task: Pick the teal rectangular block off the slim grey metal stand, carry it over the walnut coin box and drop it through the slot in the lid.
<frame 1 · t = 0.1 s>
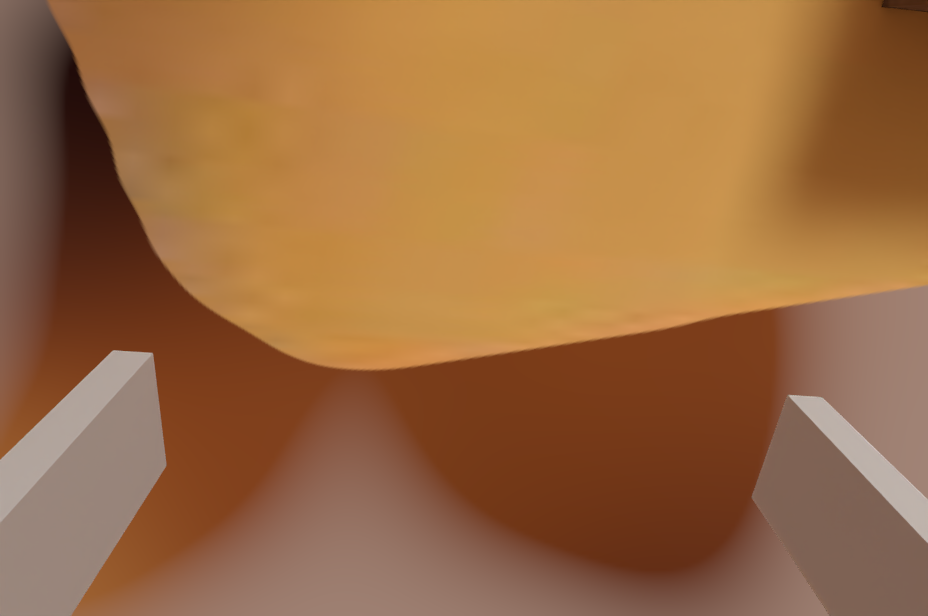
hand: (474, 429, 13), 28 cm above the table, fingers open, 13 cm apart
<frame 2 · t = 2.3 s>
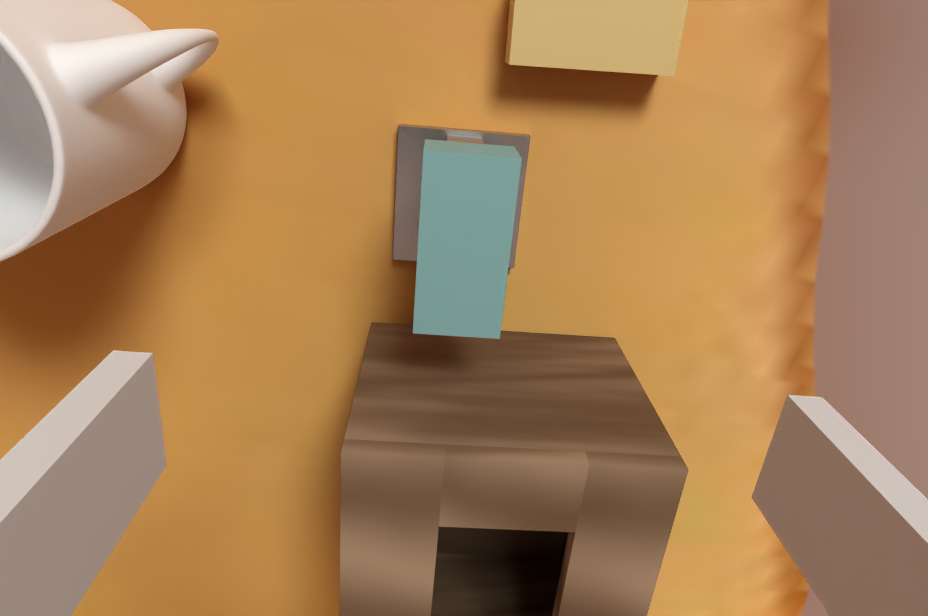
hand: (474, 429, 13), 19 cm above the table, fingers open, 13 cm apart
teal rectangular block: (462, 231, 25), point 6 cm above the table, touching stand
coin box: (480, 453, 36), on the table
stand: (458, 197, 30), on the table
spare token: (586, 26, 28), on the table
white rounded piece: (130, 81, 28), on the table
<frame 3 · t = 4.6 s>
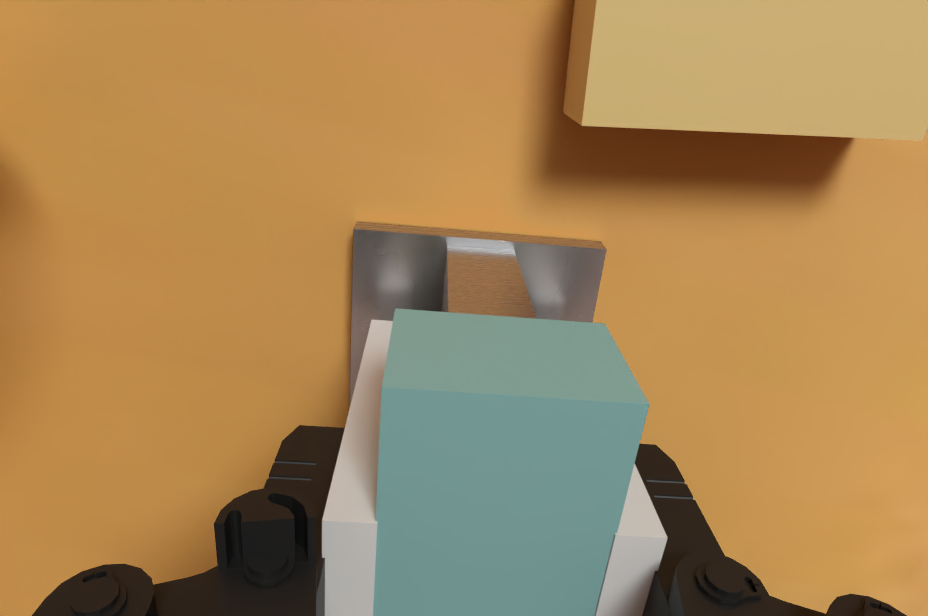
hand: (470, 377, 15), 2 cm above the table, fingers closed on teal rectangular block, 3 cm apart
teal rectangular block: (478, 489, 11), point 6 cm above the table, touching gripper, stand
stand: (467, 347, 17), on the table
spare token: (723, 39, 14), on the table
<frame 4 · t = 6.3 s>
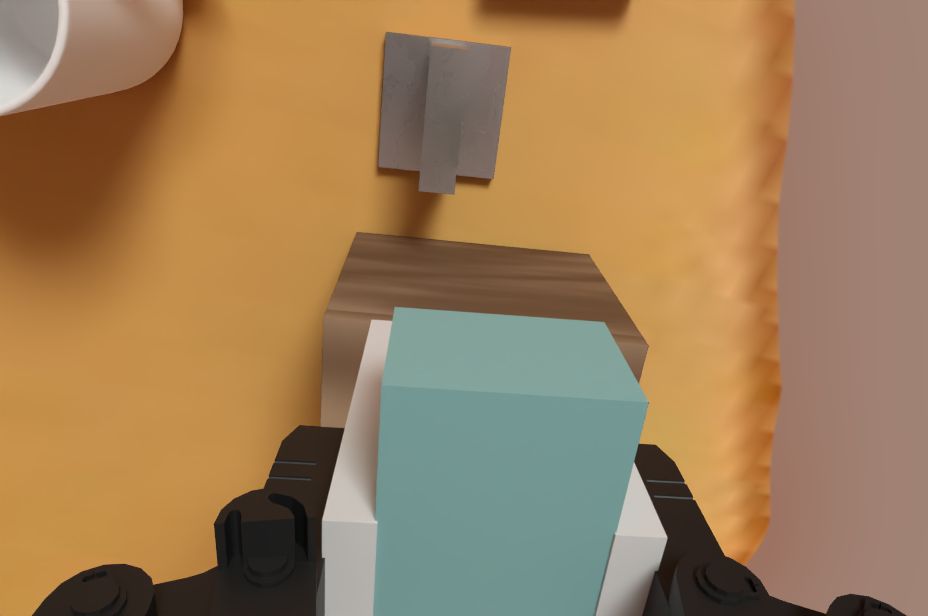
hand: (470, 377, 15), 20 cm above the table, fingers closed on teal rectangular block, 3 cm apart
teal rectangular block: (478, 487, 11), point 24 cm above the table, touching gripper
coin box: (458, 368, 38), on the table
stand: (442, 107, 32), on the table
when the fingers open (12 cm above the table, at t = 7.8 s): teal rectangular block drops 16 cm, resting on coin box.
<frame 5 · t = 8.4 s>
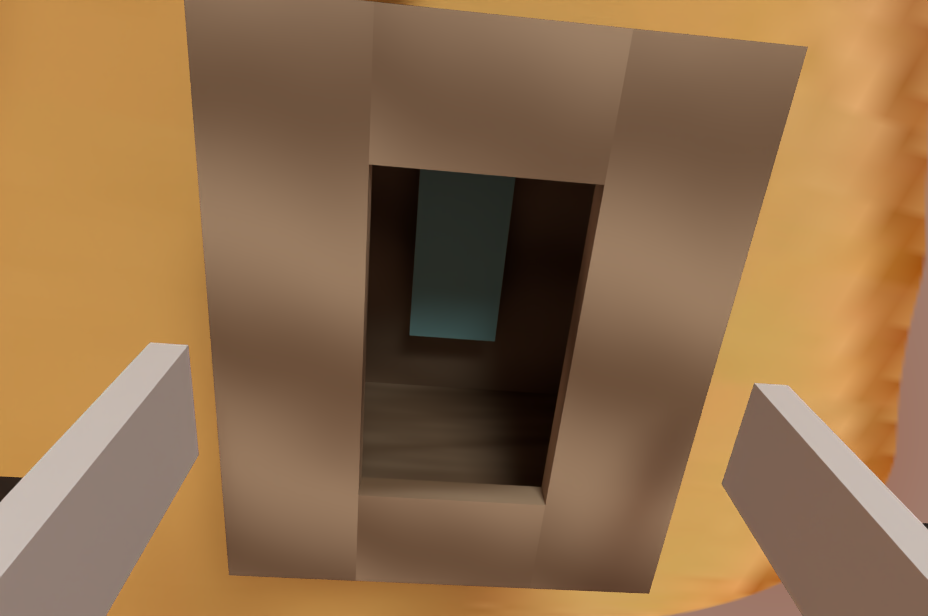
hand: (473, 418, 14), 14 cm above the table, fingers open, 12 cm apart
teal rectangular block: (458, 235, 26), point 1 cm above the table, touching coin box
coin box: (458, 231, 26), on the table
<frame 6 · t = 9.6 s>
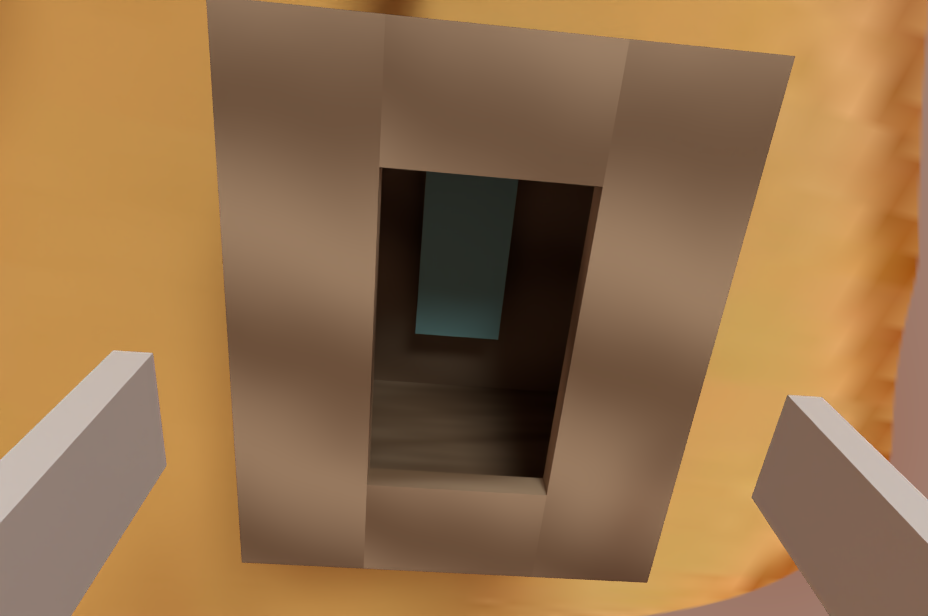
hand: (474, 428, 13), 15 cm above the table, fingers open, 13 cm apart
teal rectangular block: (463, 237, 26), point 1 cm above the table, touching coin box
coin box: (463, 232, 27), on the table
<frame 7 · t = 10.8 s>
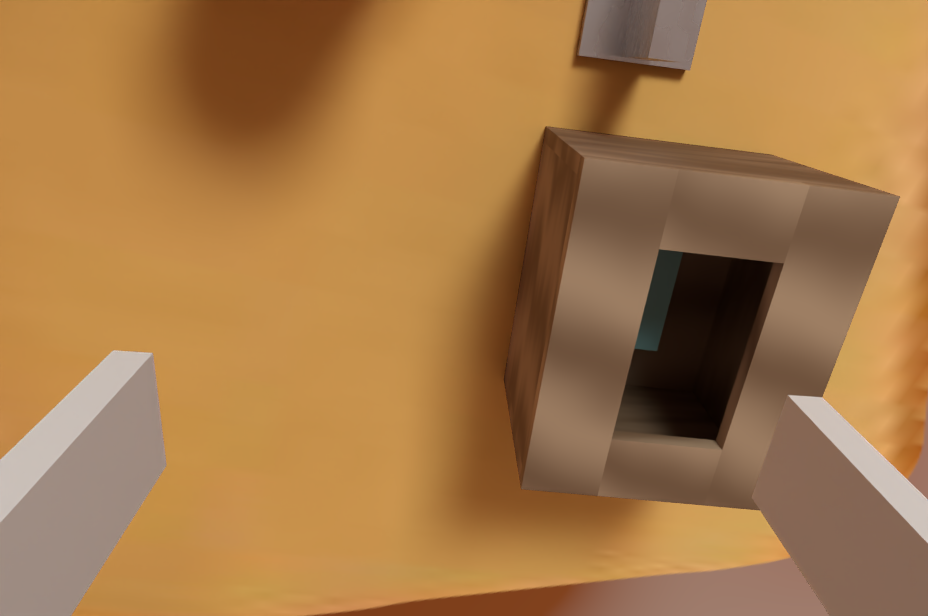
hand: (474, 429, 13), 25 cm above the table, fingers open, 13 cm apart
teal rectangular block: (631, 278, 38), point 1 cm above the table, touching coin box
coin box: (628, 274, 38), on the table
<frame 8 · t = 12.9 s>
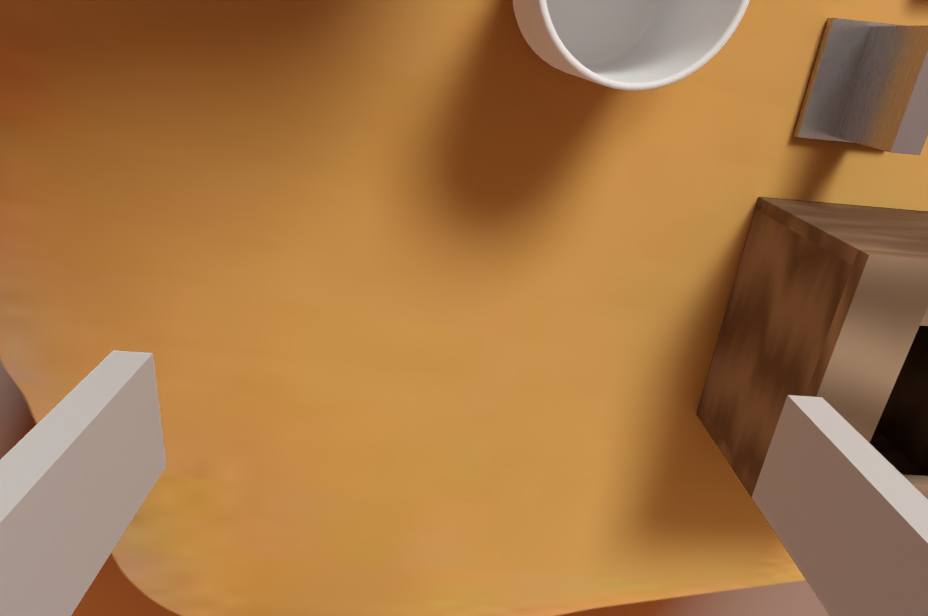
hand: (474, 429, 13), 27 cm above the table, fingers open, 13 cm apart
coin box: (818, 320, 42), on the table
stand: (859, 84, 36), on the table
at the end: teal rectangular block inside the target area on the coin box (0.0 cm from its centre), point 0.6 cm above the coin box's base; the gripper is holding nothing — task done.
